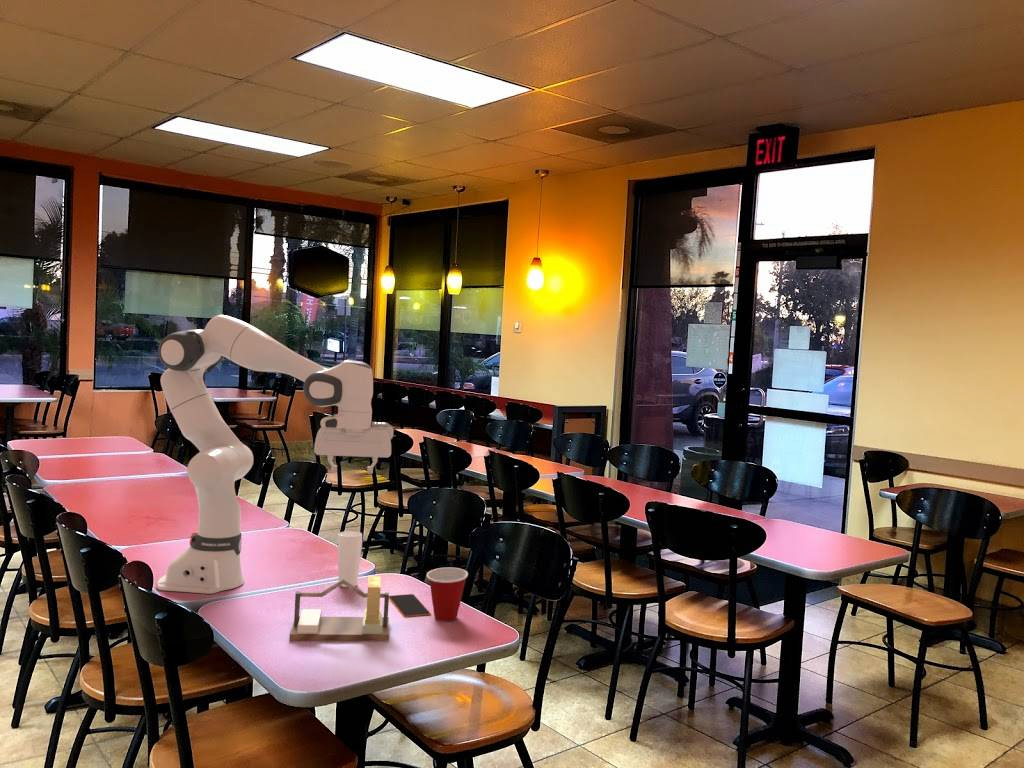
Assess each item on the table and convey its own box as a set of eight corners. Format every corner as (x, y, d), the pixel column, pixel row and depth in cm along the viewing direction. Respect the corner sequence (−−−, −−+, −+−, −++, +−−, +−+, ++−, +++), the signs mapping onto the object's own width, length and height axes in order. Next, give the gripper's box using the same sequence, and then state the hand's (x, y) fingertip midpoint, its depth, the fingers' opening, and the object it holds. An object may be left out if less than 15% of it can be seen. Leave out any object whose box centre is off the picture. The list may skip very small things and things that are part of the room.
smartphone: (403, 619, 210) (404, 615, 210) (387, 598, 226) (387, 595, 226) (431, 616, 213) (432, 613, 213) (413, 596, 229) (413, 593, 229)
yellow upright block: (364, 624, 194) (366, 587, 194) (365, 611, 203) (367, 575, 203) (379, 624, 195) (381, 587, 194) (379, 611, 204) (381, 575, 203)
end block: (362, 633, 193) (362, 625, 193) (363, 617, 204) (363, 609, 204) (381, 633, 194) (382, 625, 194) (382, 617, 205) (382, 609, 205)
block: (297, 633, 191) (297, 625, 191) (302, 617, 202) (302, 609, 202) (317, 633, 192) (317, 625, 192) (321, 617, 203) (321, 609, 203)
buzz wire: (289, 640, 190) (291, 586, 190) (295, 622, 202) (297, 570, 202) (388, 640, 194) (391, 587, 193) (388, 622, 206) (391, 572, 205)
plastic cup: (416, 614, 213) (418, 569, 212) (451, 608, 220) (453, 564, 219) (437, 628, 204) (440, 581, 204) (473, 621, 211) (476, 575, 210)
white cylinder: (333, 582, 235) (335, 531, 234) (356, 580, 238) (359, 530, 237) (338, 589, 229) (341, 537, 228) (362, 588, 232) (365, 536, 231)
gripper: (393, 421, 222) (391, 472, 222) (316, 418, 218) (314, 469, 219) (394, 424, 215) (391, 476, 216) (314, 421, 212) (312, 473, 213)
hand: (352, 472), depth 218 cm, fingers open, 8 cm apart
